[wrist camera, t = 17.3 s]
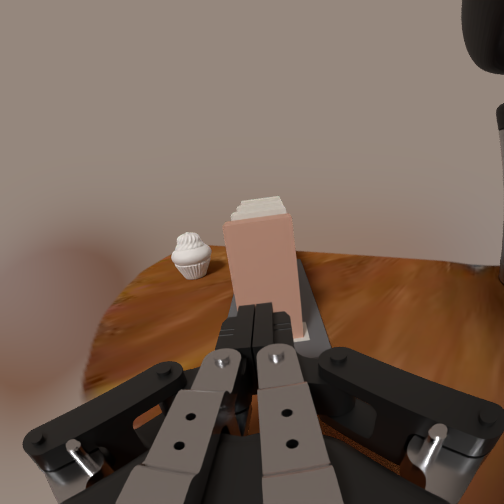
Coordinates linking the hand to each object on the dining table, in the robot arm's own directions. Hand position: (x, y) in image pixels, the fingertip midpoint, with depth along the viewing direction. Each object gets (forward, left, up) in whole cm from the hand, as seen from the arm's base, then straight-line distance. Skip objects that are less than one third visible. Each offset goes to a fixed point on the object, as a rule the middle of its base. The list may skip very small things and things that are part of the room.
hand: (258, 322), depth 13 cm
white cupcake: (+25, -20, -8) cm, 33 cm away
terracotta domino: (+5, -9, -7) cm, 12 cm away
